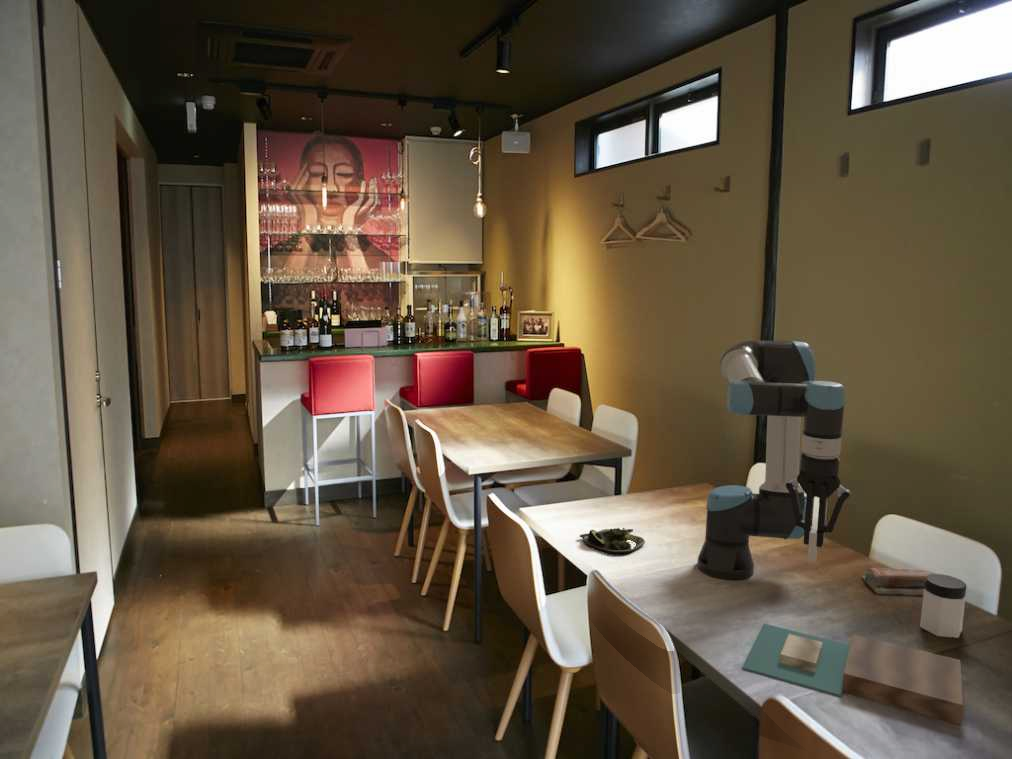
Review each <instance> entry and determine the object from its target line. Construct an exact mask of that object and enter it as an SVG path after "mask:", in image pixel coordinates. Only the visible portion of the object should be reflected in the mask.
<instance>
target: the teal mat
mask: <svg viewBox="0 0 1012 759" xmlns="http://www.w3.org/2000/svg"><path fill="white" fill-rule="evenodd" d="M788 634H791V635H795V636H800V637H804V638H808V639H812V640H816V641H820V642H823V643H822V652H821V655H820V659H819V662H818V665H817V669H816V672H812V671H809V670H805V669H801V668H797V667H794V666H790V665H786V664H783V663H780V655H781V652H782V649H783V647H784V644H785V642H786V639H787V637H788ZM849 648H850V644H847V643H844V642H839V641H836V640H832V639H828V638H824V637H819V636H816V635H813V634H807V633H803V632H798V631H796V630H791V629H789V628H788V629H787V628H783V627H780V626H776V625H775V626H774V625H771V624H767V623H763V624H762V627H761V628H760V630H759V632H758V634H757V637H756V639H755V640H754V642H753V644H752V647H751V649H750V651H749V653H748V654H747V656H746V658H745V660H744V662H743V664H742V667H741V669H742V670H746V671H748V672H752V673H756V674H759V675H763V676H766V677H770V678H774V679H777V680H779V681H780V680H781V681H784V682H787V683H791V684H794V685H798V686H802V687H804V688H808V689H813V690H815V691H819V692H822V693H826V694H829V695H834V696H837V697H842V693H843V692H842V687H843V675H844V670H845V665H846V661H847V657H848V653H849Z"/></svg>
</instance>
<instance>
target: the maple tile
mask: <svg viewBox="0 0 1012 759" xmlns="http://www.w3.org/2000/svg"><path fill="white" fill-rule="evenodd" d="M822 643H823V642H820V641H816V640H812V639H808V638H804V637H800V636H795V635H791V634H788V637H787V639H786V642H785V644H784V647H783V649H782V652H781V655H780V663H783V664H786V665H790V666H794V667H797V668H801V669H805V670H809V671H812V672H816V669H817V665H818V662H819V659H820V655H821V652H822Z"/></svg>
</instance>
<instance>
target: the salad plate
mask: <svg viewBox="0 0 1012 759" xmlns="http://www.w3.org/2000/svg"><path fill="white" fill-rule="evenodd" d="M633 532H634V529H632V528H628V529H626V528H624V527H623V528H622V529H620V527H617V528H616V527H615V528H609V529H608V528H607V529H605V528H603V529H601V530H599V531H597V530H595V529H591V530H589V532H588V533H584V534H580V535H579V538H581V539H583V542H584V544H585V546H587V547H588V548H590V549H592V548H593V549H592V550H594V549H595V550H594V551H597V550H598V551H597V552H599V551H601V552H600V553H602V552H604V553H603V554H605V553H607V554H606V555H610V554H613V555H612V556H624V554H625V555H627V554H628V553H629V554H631V553H634V551H636V550H638V549H640V548H641V547H642V546H644V545H645V543H646V540H645V539H644V538H643V537H641V536H638V535H634V534H631V533H633ZM627 540H631V541H633V542H635V543H636V546H635V545H634V546H635V547H634V546H633V549H632V544H630V542H626V541H627ZM633 542H632V543H633Z"/></svg>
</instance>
